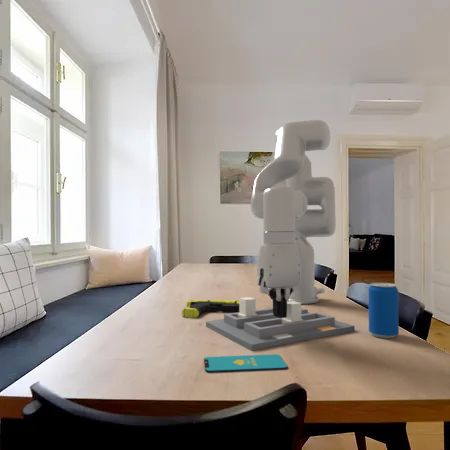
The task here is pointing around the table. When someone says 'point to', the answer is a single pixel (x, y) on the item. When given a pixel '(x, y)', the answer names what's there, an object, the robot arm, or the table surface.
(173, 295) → the table surface
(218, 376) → the table surface
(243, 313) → the tab
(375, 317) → the beverage can
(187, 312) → the stun gun
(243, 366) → the smartphone
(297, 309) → the tab
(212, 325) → the switch board
